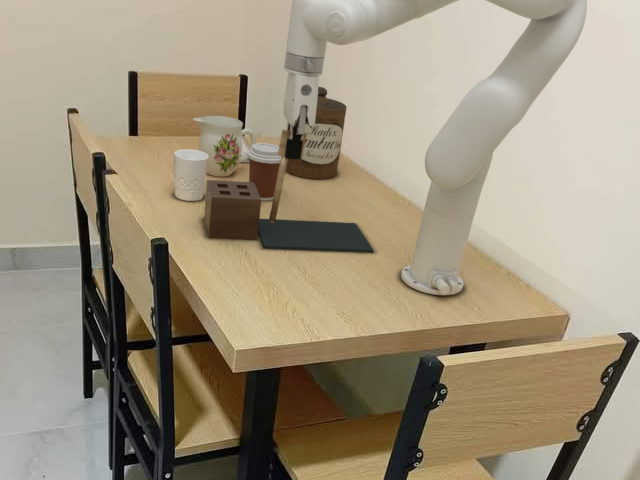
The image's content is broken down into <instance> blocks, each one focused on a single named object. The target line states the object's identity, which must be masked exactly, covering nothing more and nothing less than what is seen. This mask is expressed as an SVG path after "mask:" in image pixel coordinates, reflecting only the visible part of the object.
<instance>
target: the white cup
mask: <svg viewBox="0 0 640 480" xmlns="http://www.w3.org/2000/svg"><path fill="white" fill-rule="evenodd" d="M207 165H208V155H207V154H206V153H204V152H202V151H199V149H198V150H197V149H189V148H188V149H187V148H185V149H178V150H175V151H174V152H173V182H174V183H173V185H174V196H175V197H176V199H179V200H182V201H185V202H186V201H187V202H196V201H197V202H198V201H200V200H203V198H204V195H205V194H204V193H205V188H206V181H207V175H208V173H207Z"/></svg>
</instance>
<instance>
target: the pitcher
mask: <svg viewBox="0 0 640 480" xmlns="http://www.w3.org/2000/svg"><path fill="white" fill-rule="evenodd" d="M192 120H193V122H195V123H196V124H197V125H198V126H199V128H200V130H201V132H200V136H199V139H198V140H199V141H198V151H202V152H204V153H206V154H207V155H208V165H207V175H210V176H214V177H229V176H232V174H233V173H234V172H235V170H236V168H237V167H238V164H241V163H244V162H243V161H245V160H247V159H248V157H247V153H246V154H244V155H243V156H241V152H242V139H241V137H242V136H243V137H244V136H245V135H249V137H250V146H249V148H250V149H252V145H254V144H256V143H257V142H256V141H257V140H256V139H257V138H256V134H255V132H254V131H253V130H252V129H250V128H243V125H244V122H243V121H241V120H240V119H237V118H234V117H230V116H226V115H204V116H201V117H193V118H192ZM250 149H249V150H250ZM249 150H248V151H249Z"/></svg>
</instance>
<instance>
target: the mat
mask: <svg viewBox="0 0 640 480" xmlns="http://www.w3.org/2000/svg"><path fill="white" fill-rule="evenodd" d="M258 237H259V239H260V241H261V244H262V247H263V249H268V250H269V249H270V250H271V249H272V250H296V251H297V250H298V251H299V250H300V251H321V252H322V251H323V252H325V251H326V252H346V253H347V252H351V253H352V252H353V253H374V249H373V247H372V245H371V244H370V243H369V241H368V239H367V238H366V237H365V235H364V234H363V232H362V230H361V229H360V228H359V226H358V225H357V223H356V222H342V221H341V222H339V221H338V222H337V221H316V220H299V219H297V220H295V219H277V218H276V221H275V223H270V222H269V218H259V227H258Z"/></svg>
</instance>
